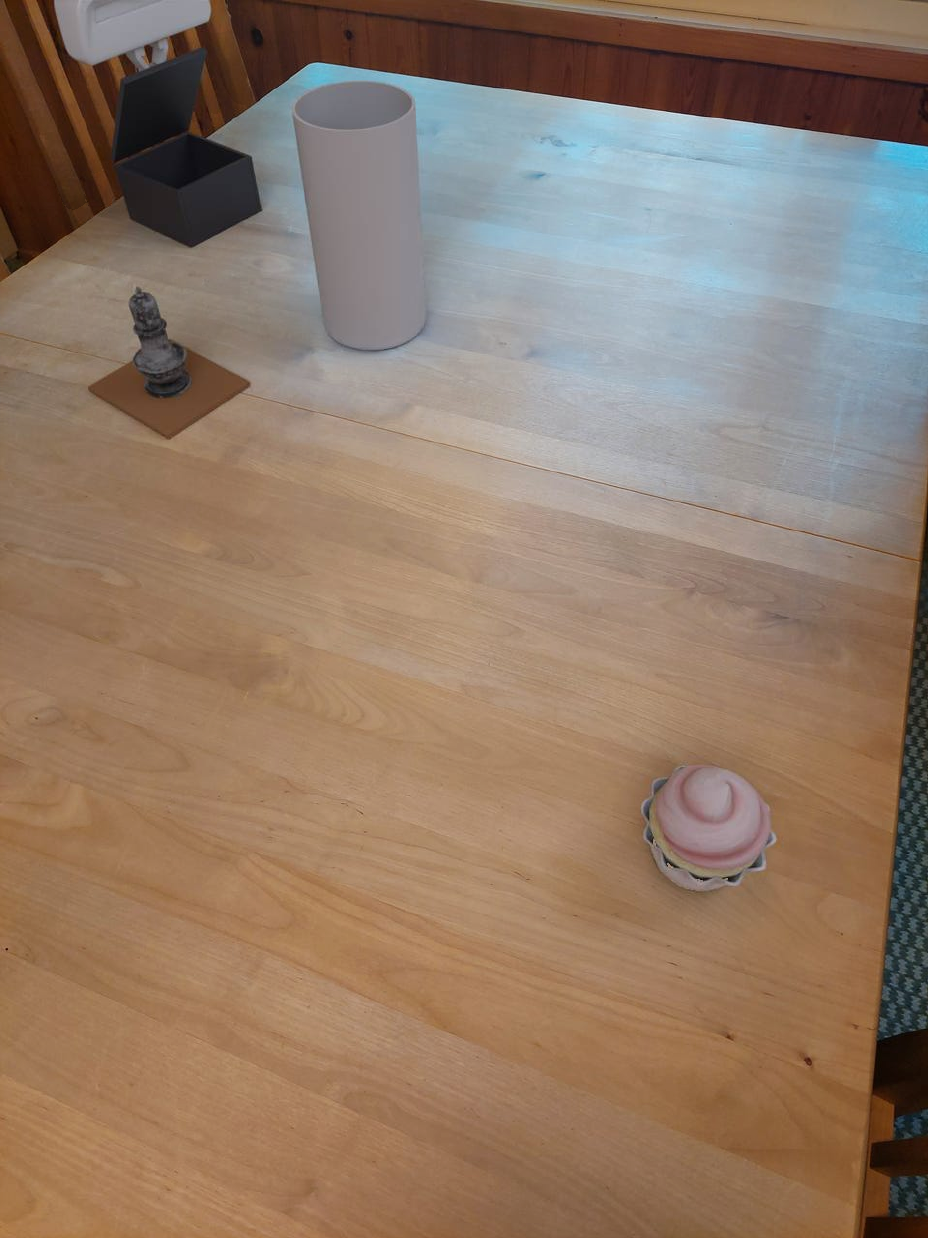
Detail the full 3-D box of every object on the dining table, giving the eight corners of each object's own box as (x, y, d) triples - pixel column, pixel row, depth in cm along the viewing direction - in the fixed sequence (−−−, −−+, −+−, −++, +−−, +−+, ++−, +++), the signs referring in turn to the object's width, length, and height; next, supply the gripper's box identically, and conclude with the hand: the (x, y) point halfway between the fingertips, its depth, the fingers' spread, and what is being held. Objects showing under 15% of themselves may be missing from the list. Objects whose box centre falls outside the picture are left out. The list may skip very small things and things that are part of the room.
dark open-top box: (262, 210, 129) (251, 155, 123) (191, 247, 123) (176, 192, 117) (201, 184, 134) (188, 130, 129) (130, 219, 128) (113, 164, 122)
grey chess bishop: (132, 395, 101) (97, 298, 92) (156, 365, 104) (124, 268, 95) (180, 402, 100) (150, 305, 91) (202, 371, 104) (175, 275, 94)
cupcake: (755, 929, 62) (794, 870, 55) (621, 895, 64) (641, 832, 56) (764, 812, 68) (801, 742, 60) (641, 783, 70) (661, 711, 62)
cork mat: (88, 391, 103) (87, 386, 102) (170, 342, 108) (169, 338, 108) (168, 439, 97) (167, 435, 96) (250, 385, 103) (249, 381, 102)
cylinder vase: (438, 342, 108) (428, 121, 88) (335, 361, 106) (303, 138, 86) (412, 289, 115) (398, 74, 96) (316, 305, 113) (282, 88, 94)
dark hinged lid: (207, 50, 116) (203, 45, 116) (124, 83, 110) (120, 78, 110) (189, 129, 128) (185, 125, 128) (114, 163, 122) (110, 158, 122)
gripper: (173, -74, 112) (200, 51, 123) (33, -31, 102) (75, 100, 113) (207, -66, 109) (231, 61, 120) (66, -21, 99) (107, 113, 110)
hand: (155, 81), depth 116 cm, fingers closed
